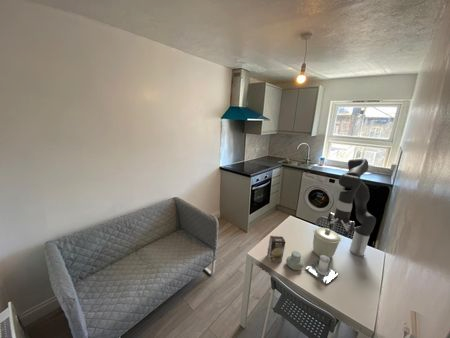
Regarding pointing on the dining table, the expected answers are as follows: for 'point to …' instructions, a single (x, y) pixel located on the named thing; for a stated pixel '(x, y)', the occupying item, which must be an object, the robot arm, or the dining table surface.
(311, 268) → the duct flange
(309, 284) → the dining table surface
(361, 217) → the robot arm
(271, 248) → the coffee box
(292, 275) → the dining table surface
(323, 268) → the duct stub
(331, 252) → the canister
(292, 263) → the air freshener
